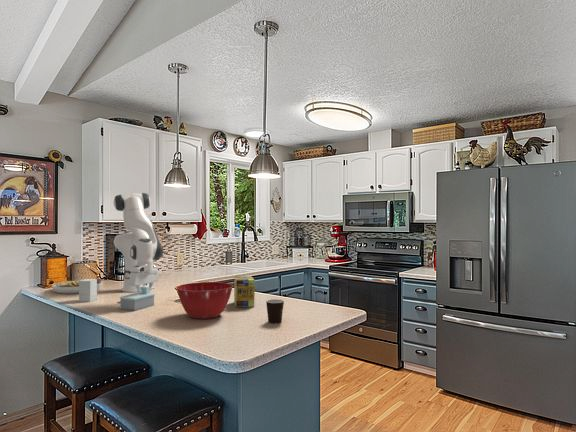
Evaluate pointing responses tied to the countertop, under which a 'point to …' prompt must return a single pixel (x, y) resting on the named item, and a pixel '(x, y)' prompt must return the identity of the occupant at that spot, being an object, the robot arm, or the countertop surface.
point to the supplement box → (87, 290)
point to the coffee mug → (274, 310)
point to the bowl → (70, 287)
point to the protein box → (244, 291)
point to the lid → (139, 294)
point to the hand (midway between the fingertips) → (144, 291)
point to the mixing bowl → (204, 298)
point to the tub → (136, 303)
